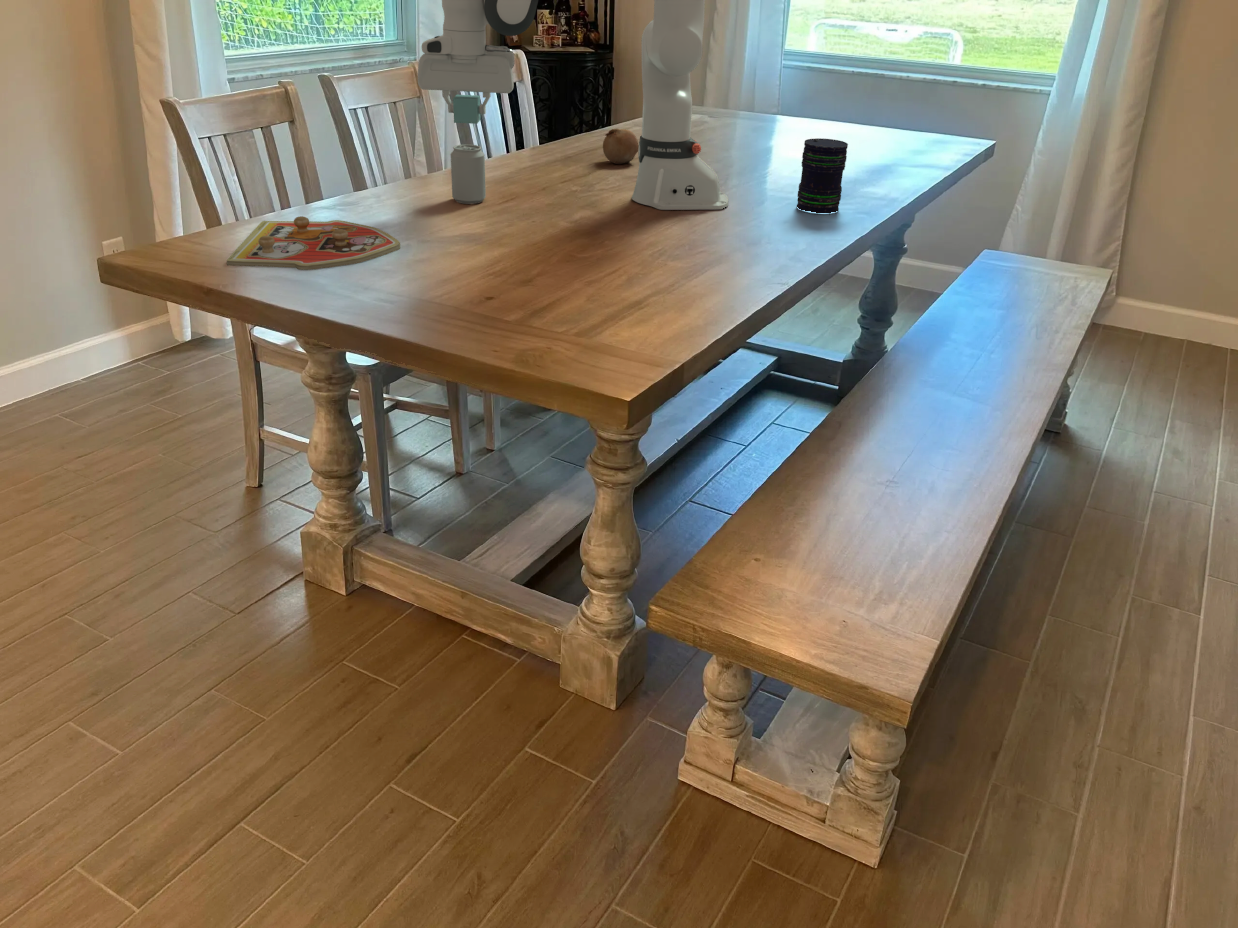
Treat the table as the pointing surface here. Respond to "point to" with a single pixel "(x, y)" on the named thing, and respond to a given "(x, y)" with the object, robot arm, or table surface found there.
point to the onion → (620, 146)
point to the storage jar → (822, 175)
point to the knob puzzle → (312, 244)
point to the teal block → (466, 109)
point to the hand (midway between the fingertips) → (467, 113)
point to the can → (468, 174)
